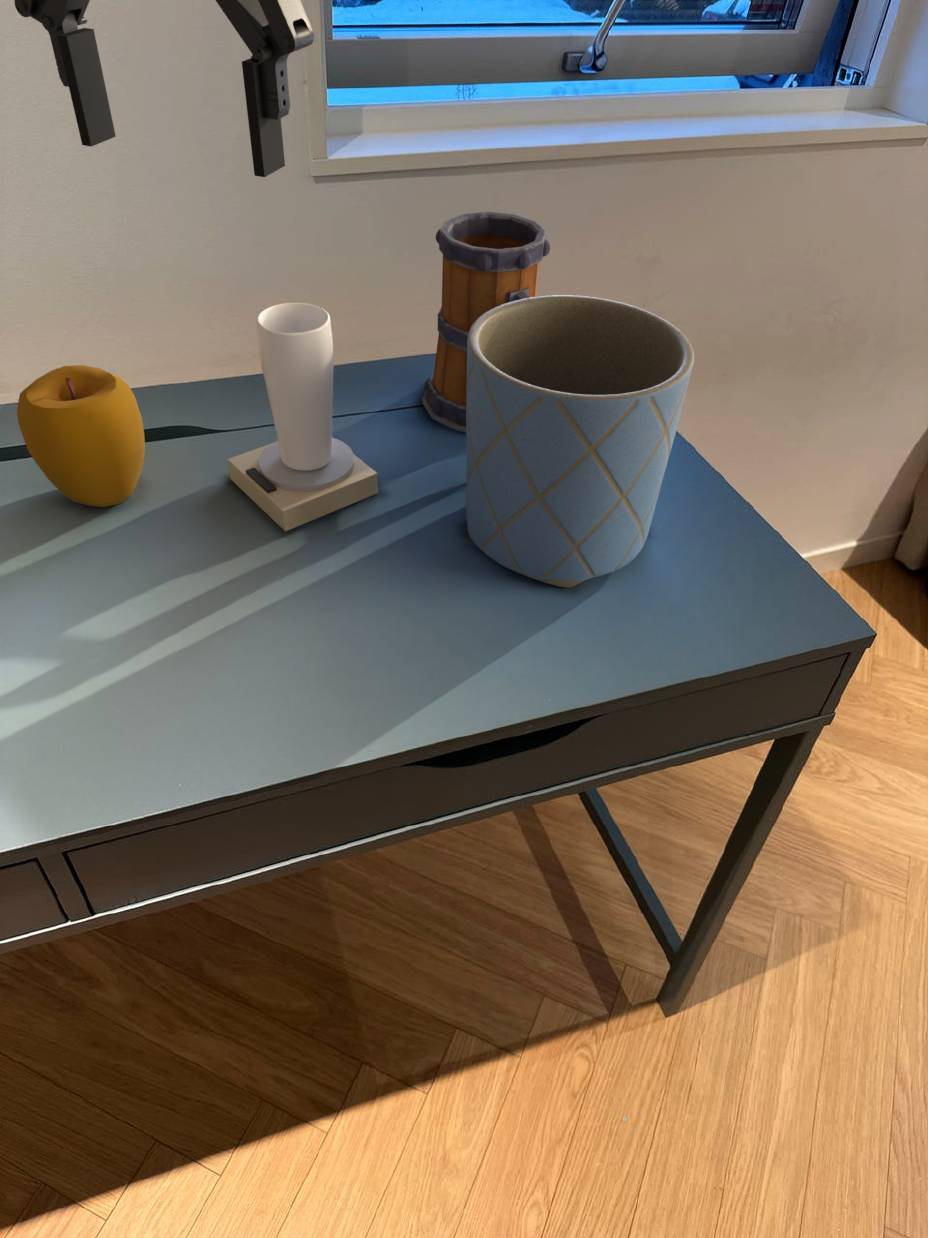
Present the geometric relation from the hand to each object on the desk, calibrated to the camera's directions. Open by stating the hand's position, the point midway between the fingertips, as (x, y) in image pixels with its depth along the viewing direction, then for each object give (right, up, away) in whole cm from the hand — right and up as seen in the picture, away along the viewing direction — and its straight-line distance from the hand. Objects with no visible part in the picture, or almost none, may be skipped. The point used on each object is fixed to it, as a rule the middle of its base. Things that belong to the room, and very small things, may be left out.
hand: (182, 155), depth 62 cm
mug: (+23, -7, +44) cm, 51 cm away
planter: (+28, -23, +28) cm, 46 cm away
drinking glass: (+3, -16, +30) cm, 34 cm away
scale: (+3, -18, +32) cm, 37 cm away
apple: (-17, -19, +30) cm, 39 cm away
